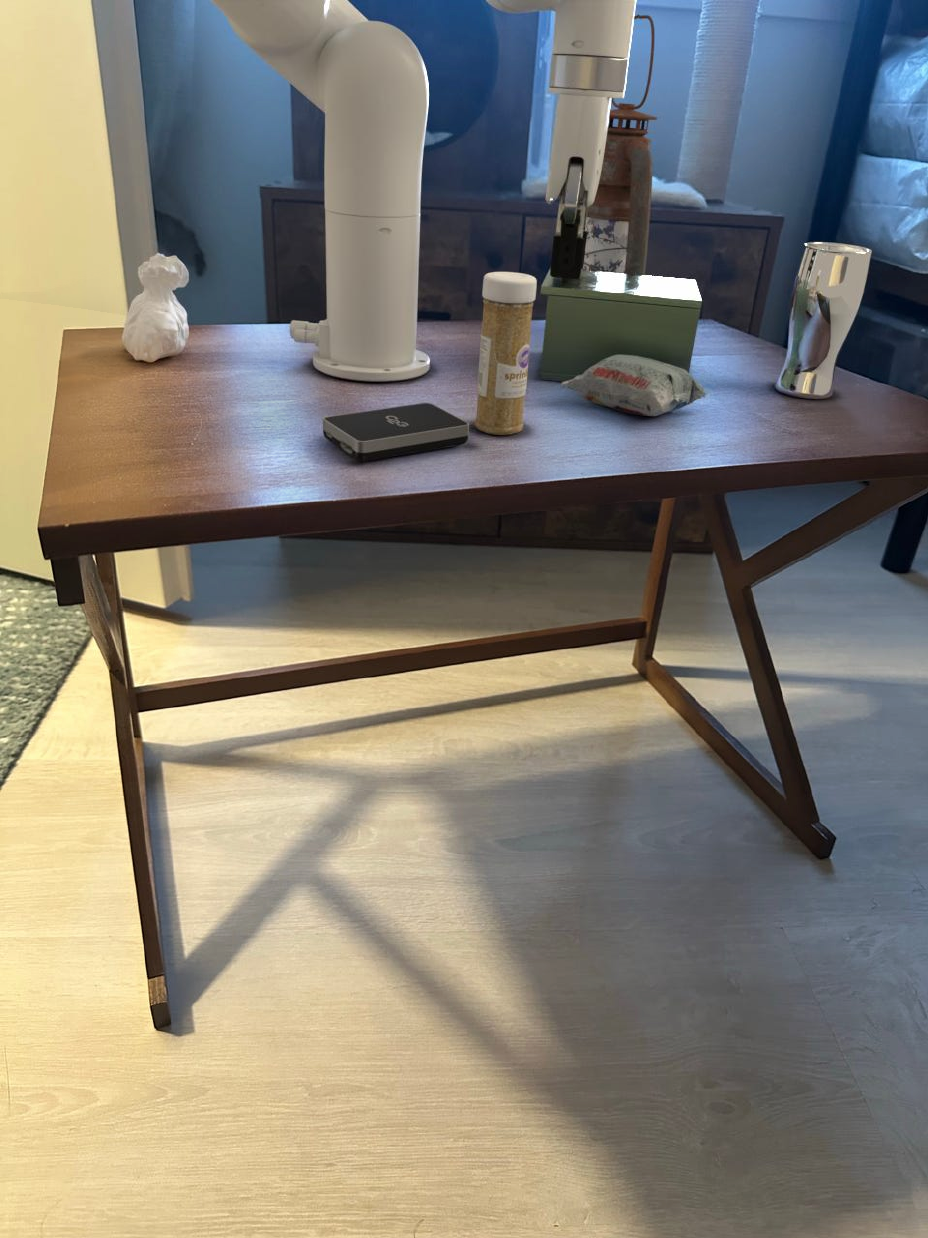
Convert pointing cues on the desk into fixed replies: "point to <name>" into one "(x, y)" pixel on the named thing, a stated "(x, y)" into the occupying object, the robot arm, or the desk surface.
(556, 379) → the waste bin
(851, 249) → the beer glass
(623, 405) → the packaged food
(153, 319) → the white tied sack
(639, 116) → the lantern
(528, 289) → the sprinkles bottle
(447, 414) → the external hard drive
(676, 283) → the bin lid
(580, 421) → the desk surface
